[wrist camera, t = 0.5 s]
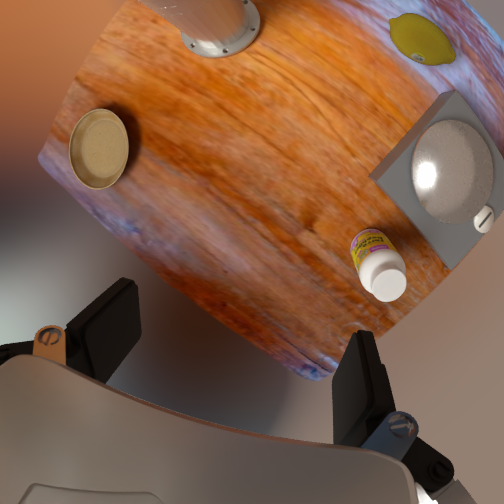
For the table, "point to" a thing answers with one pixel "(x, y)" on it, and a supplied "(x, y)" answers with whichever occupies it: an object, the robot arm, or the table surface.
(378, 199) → the table surface
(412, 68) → the table surface
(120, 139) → the plant saucer
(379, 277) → the supplement bottle
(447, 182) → the scale pan
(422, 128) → the kitchen scale
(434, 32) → the lemon
